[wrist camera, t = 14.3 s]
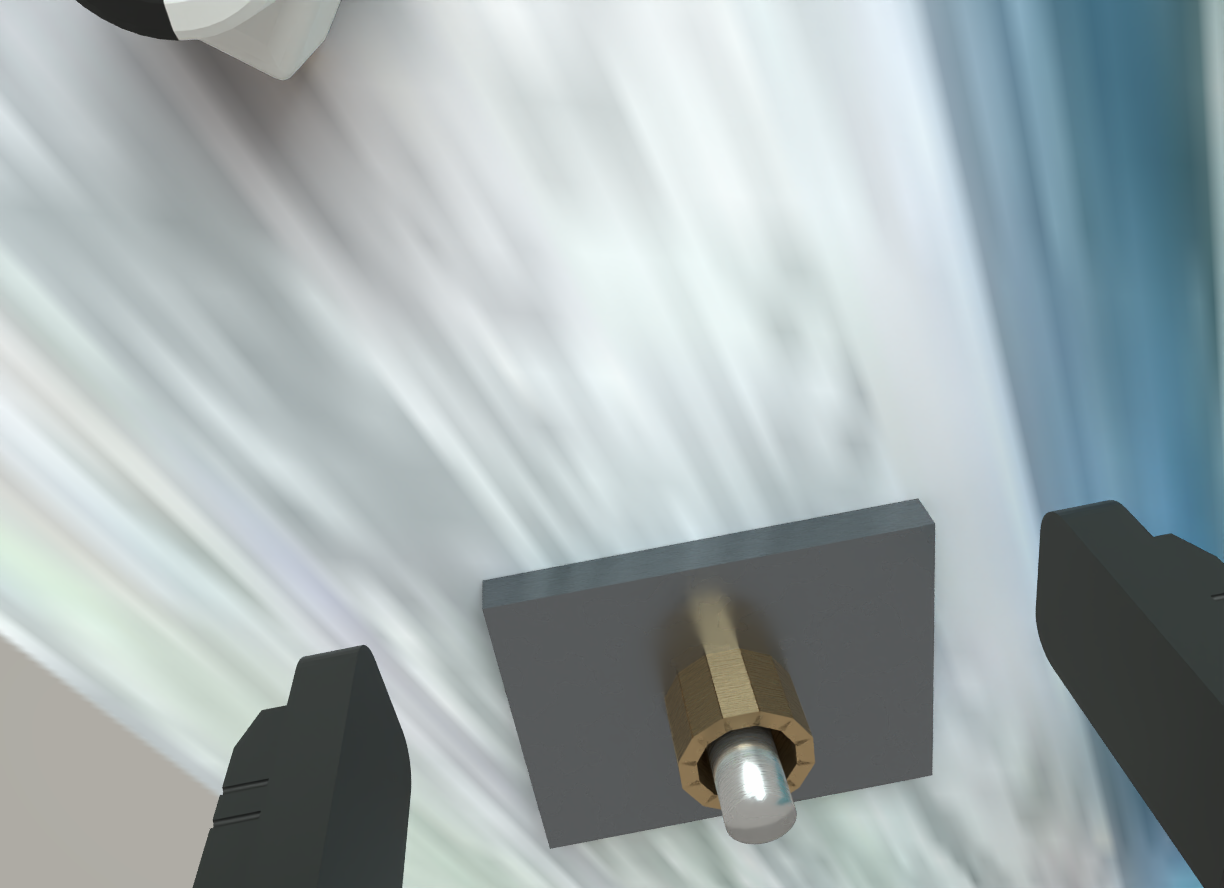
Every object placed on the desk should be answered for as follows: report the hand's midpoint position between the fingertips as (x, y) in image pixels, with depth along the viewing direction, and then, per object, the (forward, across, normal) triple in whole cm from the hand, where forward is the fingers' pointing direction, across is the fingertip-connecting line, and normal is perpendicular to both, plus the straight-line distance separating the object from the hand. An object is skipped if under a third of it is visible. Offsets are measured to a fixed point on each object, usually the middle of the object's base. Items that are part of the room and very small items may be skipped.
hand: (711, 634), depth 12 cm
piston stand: (+28, -2, +27) cm, 39 cm away
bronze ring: (+26, -2, +27) cm, 38 cm away
